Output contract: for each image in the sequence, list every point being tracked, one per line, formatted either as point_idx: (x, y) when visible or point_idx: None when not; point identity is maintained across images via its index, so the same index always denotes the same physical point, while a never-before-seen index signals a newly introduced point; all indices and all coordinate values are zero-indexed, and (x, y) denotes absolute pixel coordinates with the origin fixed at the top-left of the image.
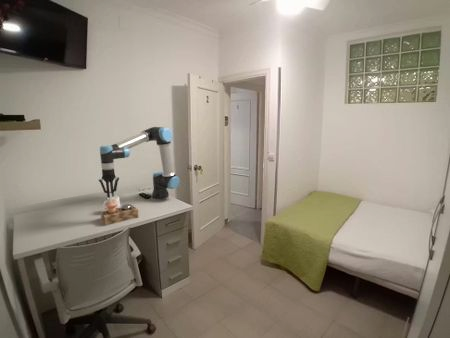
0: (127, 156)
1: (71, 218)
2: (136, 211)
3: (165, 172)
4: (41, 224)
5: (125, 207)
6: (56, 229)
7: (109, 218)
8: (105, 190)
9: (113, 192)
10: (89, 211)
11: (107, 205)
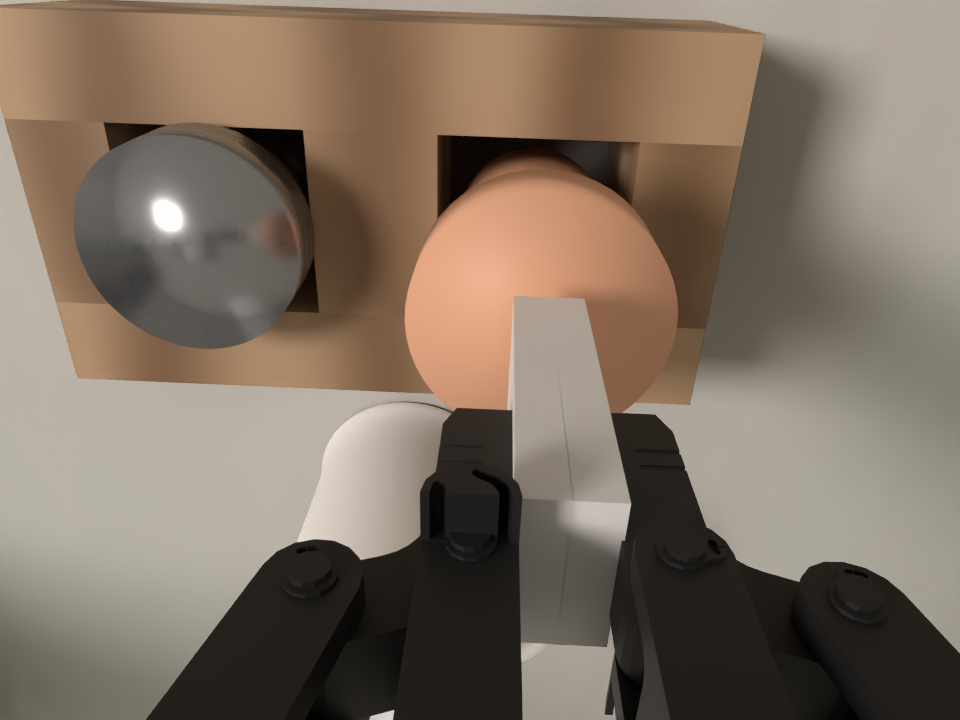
0: None
1: (937, 588)
2: (35, 5)
3: None
4: None
5: (228, 154)
6: None
7: (652, 25)
8: (908, 695)
9: (443, 475)
10: None
11: (666, 265)
